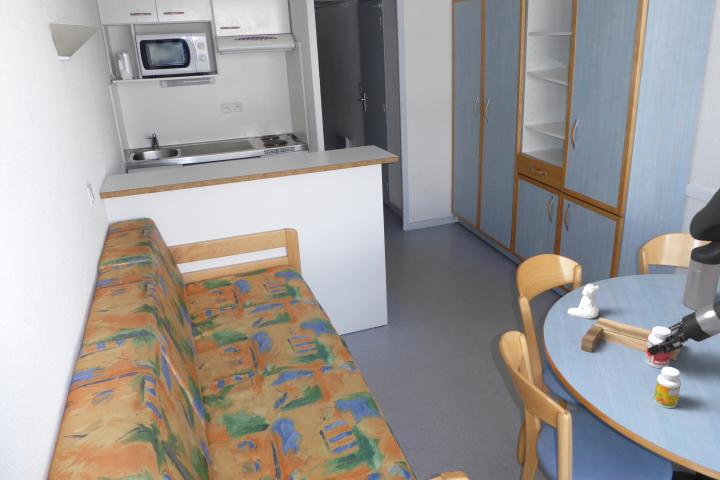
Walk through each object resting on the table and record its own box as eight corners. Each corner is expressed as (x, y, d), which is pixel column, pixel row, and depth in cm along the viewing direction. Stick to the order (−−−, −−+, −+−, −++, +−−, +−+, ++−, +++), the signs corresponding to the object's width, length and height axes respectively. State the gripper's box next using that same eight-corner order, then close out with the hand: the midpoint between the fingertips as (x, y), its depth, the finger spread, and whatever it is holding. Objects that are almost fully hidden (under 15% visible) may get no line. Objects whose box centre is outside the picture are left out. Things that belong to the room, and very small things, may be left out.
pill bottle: (673, 364, 159) (678, 330, 155) (661, 371, 156) (666, 338, 152) (652, 354, 164) (657, 322, 160) (640, 362, 161) (645, 329, 157)
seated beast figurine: (583, 305, 194) (586, 275, 190) (605, 315, 188) (609, 283, 183) (566, 314, 190) (568, 282, 185) (588, 324, 183) (591, 291, 178)
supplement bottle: (649, 396, 147) (654, 366, 143) (668, 394, 147) (674, 364, 144) (661, 409, 142) (667, 378, 138) (681, 407, 142) (687, 376, 138)
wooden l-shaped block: (599, 325, 181) (600, 314, 180) (681, 347, 167) (683, 336, 165) (580, 349, 169) (582, 338, 167) (667, 376, 154) (669, 364, 153)
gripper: (701, 300, 154) (649, 325, 165) (691, 322, 144) (636, 347, 155) (720, 322, 153) (666, 346, 164) (711, 346, 142) (655, 369, 154)
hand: (652, 346), depth 160 cm, fingers closed on pill bottle, 6 cm apart
